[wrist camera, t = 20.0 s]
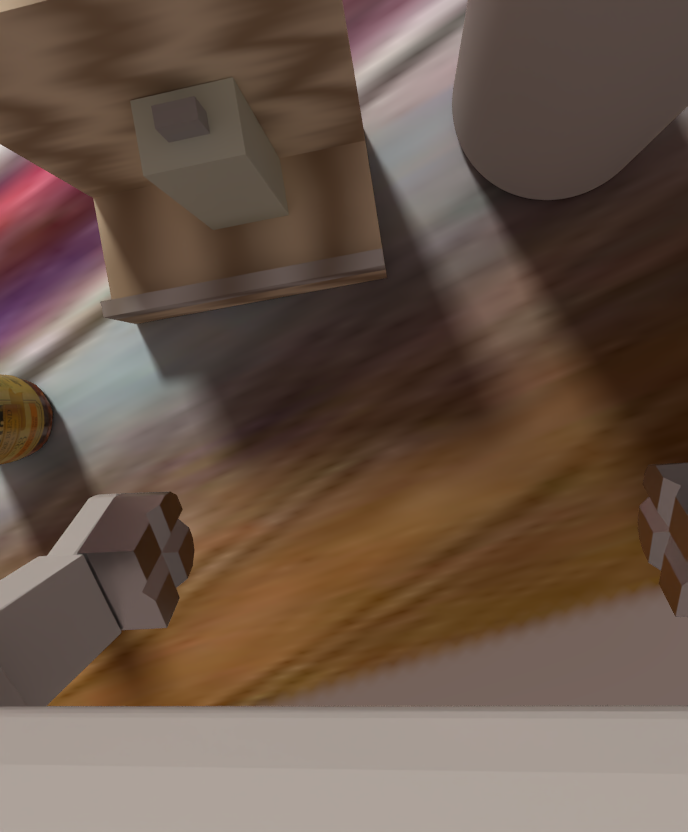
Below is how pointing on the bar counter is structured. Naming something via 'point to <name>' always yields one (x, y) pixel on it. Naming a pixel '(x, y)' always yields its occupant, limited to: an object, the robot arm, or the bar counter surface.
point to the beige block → (210, 154)
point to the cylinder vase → (566, 89)
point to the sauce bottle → (22, 418)
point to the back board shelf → (181, 68)
